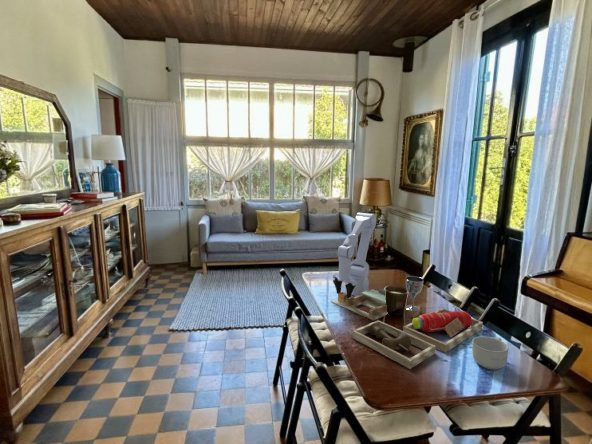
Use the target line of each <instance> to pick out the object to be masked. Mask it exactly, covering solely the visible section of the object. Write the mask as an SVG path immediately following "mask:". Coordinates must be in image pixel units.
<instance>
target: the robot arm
mask: <svg viewBox="0 0 592 444" xmlns="http://www.w3.org/2000/svg"><path fill="white" fill-rule="evenodd" d="M354 220H355V224H354V226H353V228H352V231H351V233H349V234H347V236H346V238H345V240H344V241H343V243H342V245H339V246H338V248H337V251H336V254H337V259H338V274H337V273H333V274H332V278H333V280H332V283H333V284H334V287H335V291H336V294H337V295H338V293H341V292H342V286H343V285H342V284H343V282H344V283H346V284H345V290H346V293H347V298H352V296H353V297H356V296H359V295H362V294H361V293H362V292H365V291H368V290H370V289H369V287H370V285H369V283H370V281H369V279H368V277H369V274H370V271H369V270H370V265H369V263H368V262H367V261H366V259H367V255H368V254H367V253H368V250H369V246H370V243H371V242H370V241H371V237H372V233H373V231H374V230H375V228H376V224H377V216H376V214H375V213H364V212H360V211H359V212H357V213H356V215H355V219H354ZM360 234H361V236H360V238H359V235H360ZM359 239H360V241H359ZM358 242H359V245H358V249H357V253H356V257H355V259H353V260H352V258H353V256H354V251H355V247H356V245H357V244H358Z"/></svg>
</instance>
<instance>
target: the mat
mask: <svg viewBox="0 0 592 444" xmlns="http://www.w3.org/2000/svg"><path fill="white" fill-rule="evenodd" d="M350 298H351V297H350ZM350 298H349V299H350ZM330 302H331V303H332V304H335V305H337V306H339V307H342V308H345V307H344V305H345V303H342V302H339V301H338V298H336V299H333V300H330Z"/></svg>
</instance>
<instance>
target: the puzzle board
mask: <svg viewBox="0 0 592 444" xmlns="http://www.w3.org/2000/svg"><path fill="white" fill-rule="evenodd" d="M358 306H364V307H366V308H368V311H369V312H366V311H364V310H361V309H359V308H357V307H358ZM343 308H344V309H347V310H349V311H351V312H353V313H356V314H358V315H360V316H361V317H362V316H363V317H365V318H366V317H367V319H369V320H371V321H377V320H379V319H380V318H383V317H385V316H388V315H389V314H388V312H387V305H386V304H385V303H383V302H380V301H378V300H375V299H372V298H370V297H367V296H365V295H359V296H353V297H350V299H347V300H346V301H345V305H344V307H343ZM387 314H388V315H387Z"/></svg>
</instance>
